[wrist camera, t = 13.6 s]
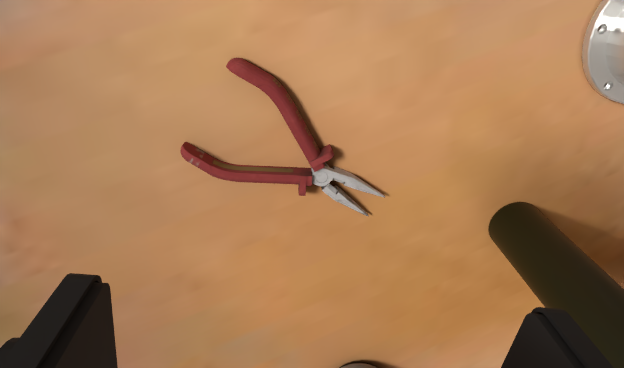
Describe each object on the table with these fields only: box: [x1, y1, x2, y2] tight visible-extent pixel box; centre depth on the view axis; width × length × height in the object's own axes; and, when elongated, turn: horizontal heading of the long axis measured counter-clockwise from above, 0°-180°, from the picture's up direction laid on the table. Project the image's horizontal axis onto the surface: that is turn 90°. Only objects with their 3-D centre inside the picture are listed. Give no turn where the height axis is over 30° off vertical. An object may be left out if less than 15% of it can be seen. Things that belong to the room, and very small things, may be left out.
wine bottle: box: [489, 202, 624, 368], centre depth 34 cm, size 6×6×30 cm
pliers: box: [181, 58, 385, 216], centre depth 41 cm, size 12×20×3 cm, turn 57°
